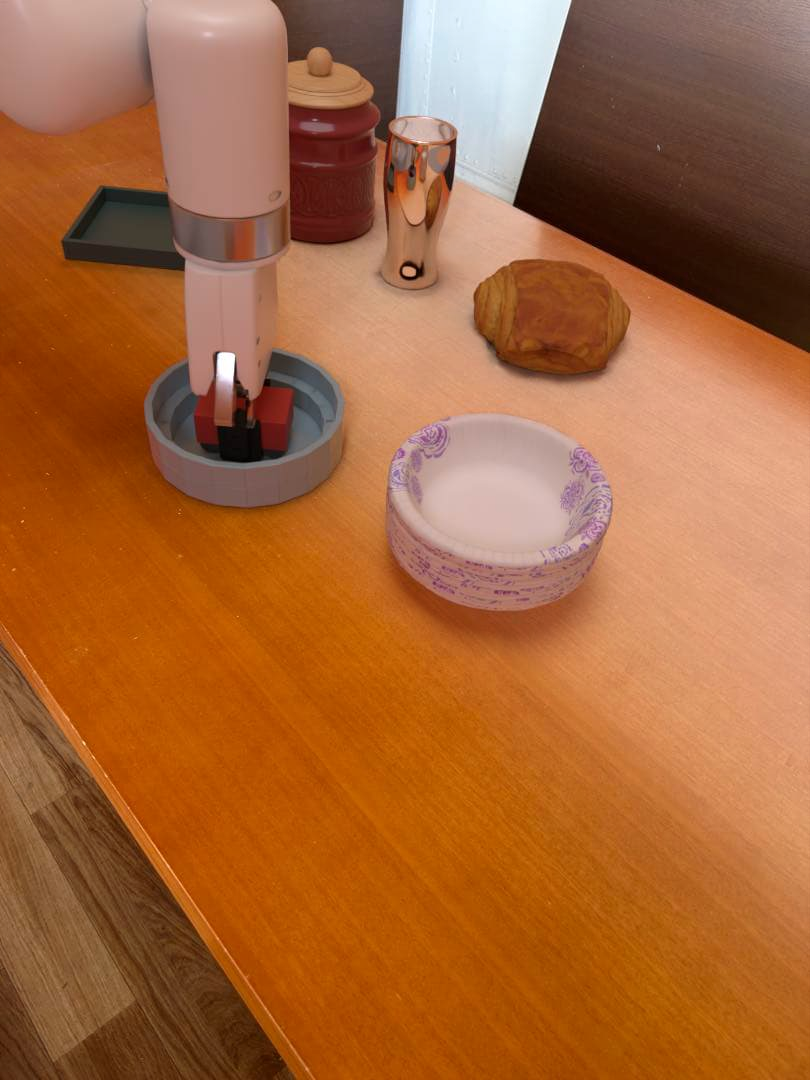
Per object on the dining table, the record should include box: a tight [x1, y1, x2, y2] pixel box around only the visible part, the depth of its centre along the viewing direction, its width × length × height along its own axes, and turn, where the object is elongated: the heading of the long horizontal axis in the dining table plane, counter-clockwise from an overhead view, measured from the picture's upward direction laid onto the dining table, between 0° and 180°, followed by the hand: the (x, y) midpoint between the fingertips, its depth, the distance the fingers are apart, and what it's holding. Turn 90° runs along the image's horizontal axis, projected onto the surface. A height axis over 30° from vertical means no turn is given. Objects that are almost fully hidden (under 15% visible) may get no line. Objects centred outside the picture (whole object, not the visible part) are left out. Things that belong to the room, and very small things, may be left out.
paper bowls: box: [384, 412, 614, 612], centre depth 56 cm, size 15×15×8 cm
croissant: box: [472, 258, 632, 375], centre depth 77 cm, size 14×16×8 cm
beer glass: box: [380, 115, 459, 290], centre depth 80 cm, size 7×7×15 cm
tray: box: [60, 184, 186, 271], centre depth 86 cm, size 15×13×2 cm
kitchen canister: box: [288, 46, 381, 243], centre depth 86 cm, size 13×13×18 cm
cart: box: [193, 381, 294, 458], centre depth 63 cm, size 7×4×4 cm, turn 88°
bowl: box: [143, 347, 346, 509], centre depth 63 cm, size 15×15×4 cm
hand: (246, 436), depth 64 cm, fingers closed on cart, 4 cm apart
